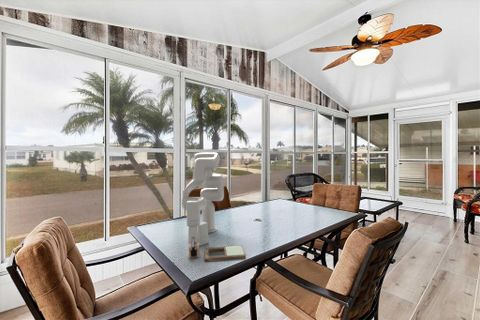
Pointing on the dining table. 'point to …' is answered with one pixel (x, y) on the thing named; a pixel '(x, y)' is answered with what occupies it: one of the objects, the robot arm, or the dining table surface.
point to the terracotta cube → (196, 248)
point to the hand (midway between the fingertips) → (194, 253)
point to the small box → (202, 233)
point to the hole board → (219, 252)
